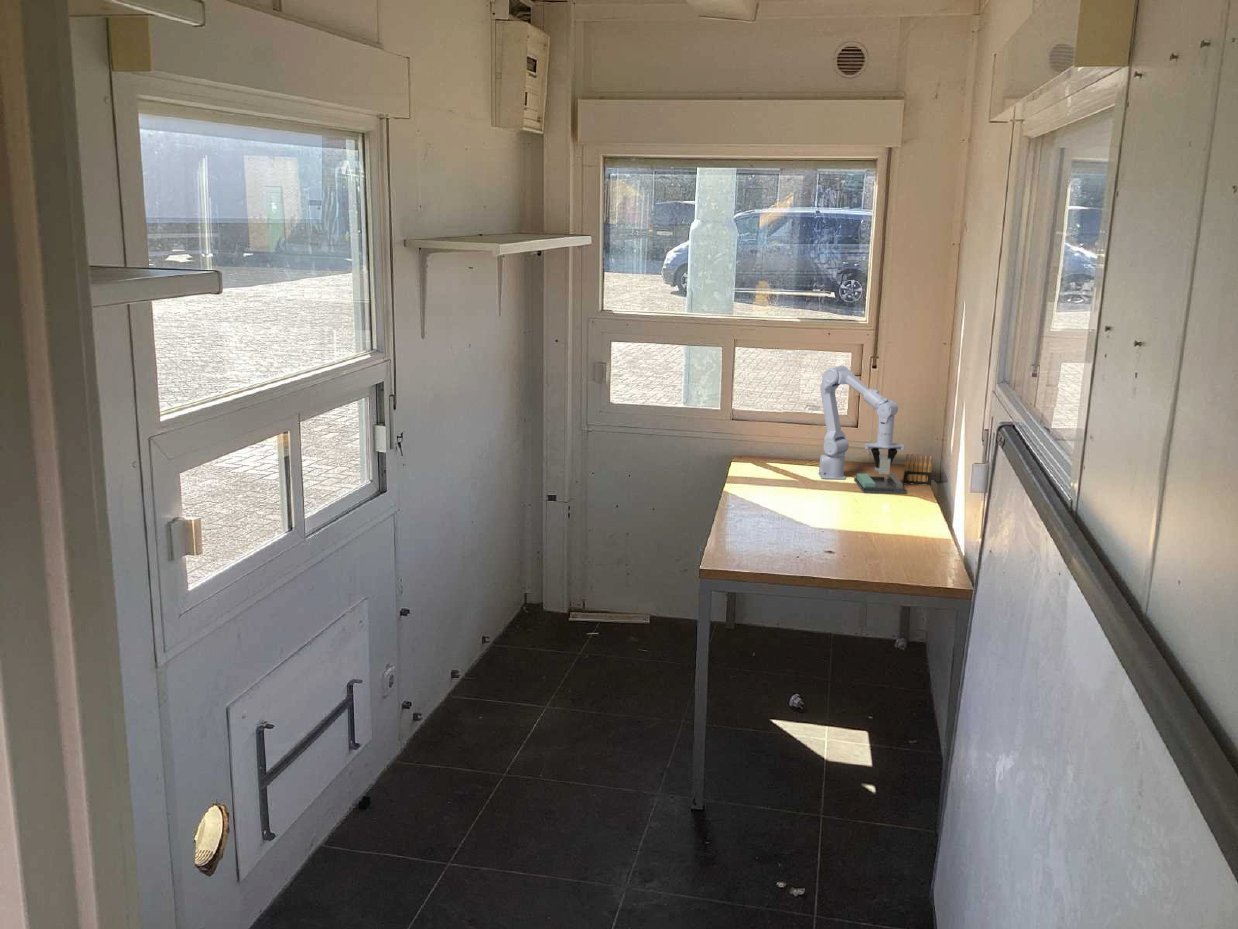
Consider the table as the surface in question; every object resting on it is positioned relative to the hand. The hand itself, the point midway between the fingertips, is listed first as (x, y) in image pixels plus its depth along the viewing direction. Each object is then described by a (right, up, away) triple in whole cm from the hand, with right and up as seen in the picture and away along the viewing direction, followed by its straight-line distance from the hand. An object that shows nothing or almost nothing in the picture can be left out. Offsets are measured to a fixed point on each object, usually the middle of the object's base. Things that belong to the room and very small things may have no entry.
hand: (882, 467), depth 416 cm
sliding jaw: (-6, -6, +2) cm, 9 cm away
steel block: (0, -2, +1) cm, 2 cm away
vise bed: (-1, -8, +2) cm, 8 cm away
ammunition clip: (+15, -7, +8) cm, 18 cm away
